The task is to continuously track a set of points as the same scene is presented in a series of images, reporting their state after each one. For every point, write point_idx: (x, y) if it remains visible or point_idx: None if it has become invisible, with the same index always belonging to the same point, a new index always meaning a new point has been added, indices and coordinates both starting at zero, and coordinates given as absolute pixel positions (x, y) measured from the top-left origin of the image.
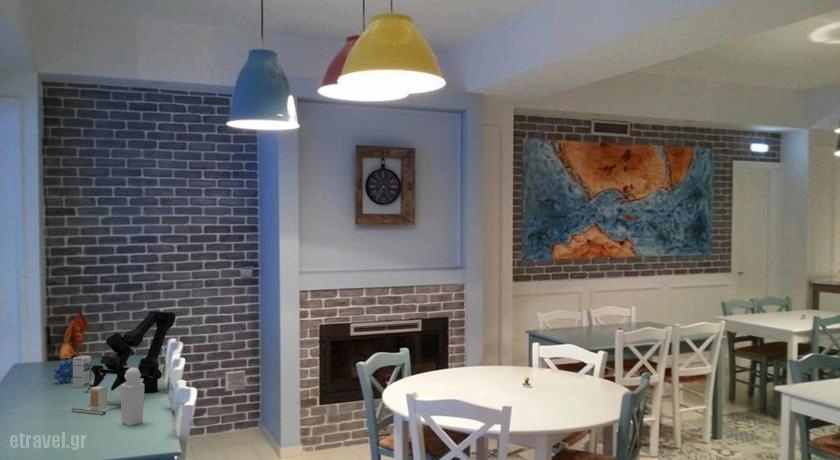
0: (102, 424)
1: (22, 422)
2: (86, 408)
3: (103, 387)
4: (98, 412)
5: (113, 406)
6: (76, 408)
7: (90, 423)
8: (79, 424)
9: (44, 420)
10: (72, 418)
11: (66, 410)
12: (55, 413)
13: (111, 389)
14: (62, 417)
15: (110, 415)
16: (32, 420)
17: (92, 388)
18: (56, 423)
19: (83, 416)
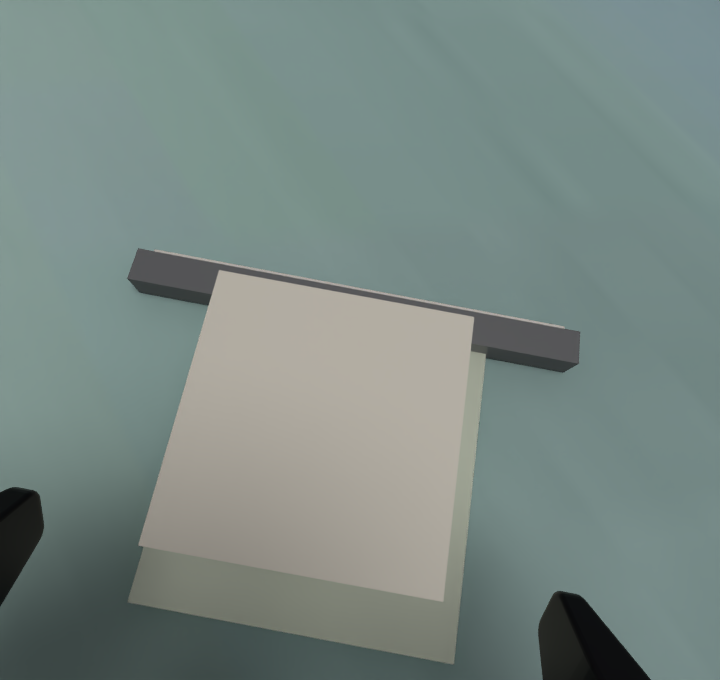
0: (28, 16)
1: (715, 26)
2: (472, 447)
3: (195, 436)
4: (208, 260)
5: (177, 595)
6: (540, 350)
7: (149, 32)
8: (230, 7)
9: (593, 77)
10: (397, 141)
11: (660, 383)
12: (677, 269)
13: (16, 489)
14: (509, 160)
15: (68, 259)
16: (687, 71)
17: (408, 305)
18: (435, 19)
19: (334, 204)
